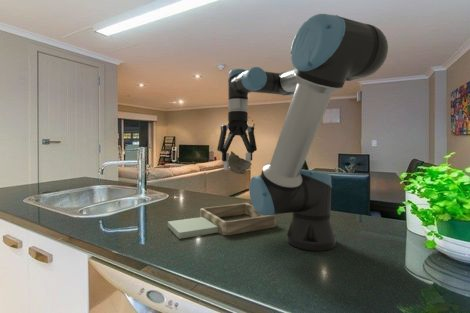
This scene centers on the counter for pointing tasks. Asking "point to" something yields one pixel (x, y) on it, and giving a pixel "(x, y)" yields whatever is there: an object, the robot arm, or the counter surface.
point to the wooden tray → (237, 225)
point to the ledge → (192, 227)
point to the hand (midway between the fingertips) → (237, 169)
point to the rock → (238, 164)
